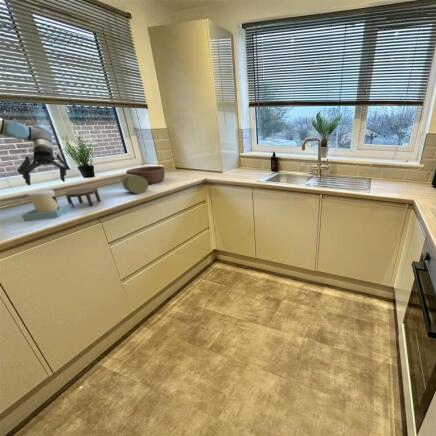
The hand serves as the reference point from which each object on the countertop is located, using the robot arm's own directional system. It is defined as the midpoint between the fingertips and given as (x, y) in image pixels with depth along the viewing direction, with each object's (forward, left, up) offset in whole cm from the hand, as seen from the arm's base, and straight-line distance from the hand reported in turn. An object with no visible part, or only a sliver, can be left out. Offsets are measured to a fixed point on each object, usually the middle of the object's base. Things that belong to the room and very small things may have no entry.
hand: (45, 182), depth 125 cm
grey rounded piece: (+32, +23, -15) cm, 42 cm away
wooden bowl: (+32, +52, -15) cm, 63 cm away
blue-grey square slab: (+2, -10, -15) cm, 18 cm away
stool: (+12, +3, -15) cm, 20 cm away
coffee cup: (+2, -10, -15) cm, 18 cm away
